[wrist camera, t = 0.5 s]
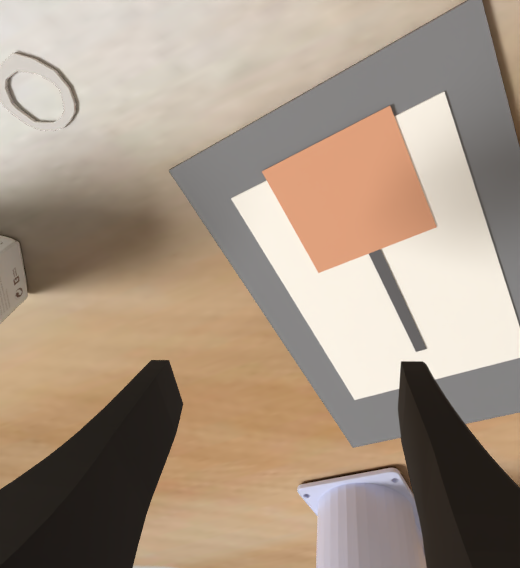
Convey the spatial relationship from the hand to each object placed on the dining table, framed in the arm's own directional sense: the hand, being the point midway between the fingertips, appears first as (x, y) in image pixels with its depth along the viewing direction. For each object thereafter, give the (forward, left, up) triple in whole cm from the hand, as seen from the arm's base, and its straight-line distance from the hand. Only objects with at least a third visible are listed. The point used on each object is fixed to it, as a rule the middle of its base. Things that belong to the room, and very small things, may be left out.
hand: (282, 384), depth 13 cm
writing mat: (-5, -3, -10) cm, 12 cm away
